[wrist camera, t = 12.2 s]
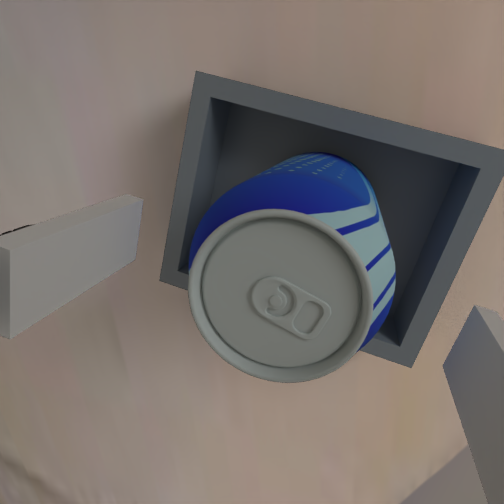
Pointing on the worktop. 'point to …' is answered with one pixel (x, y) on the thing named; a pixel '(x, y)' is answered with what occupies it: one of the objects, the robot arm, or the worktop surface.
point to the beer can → (292, 269)
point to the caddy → (368, 161)
